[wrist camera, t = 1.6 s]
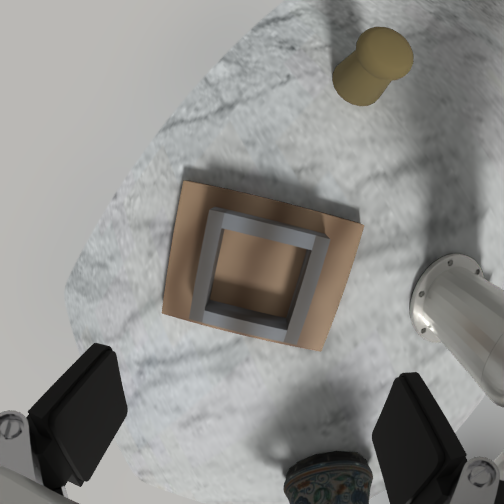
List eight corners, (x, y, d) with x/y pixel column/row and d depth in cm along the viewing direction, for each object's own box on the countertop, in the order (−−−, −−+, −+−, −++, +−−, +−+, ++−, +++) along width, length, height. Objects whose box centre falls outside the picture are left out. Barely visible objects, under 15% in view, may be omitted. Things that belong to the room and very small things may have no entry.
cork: (321, 74, 29) (341, 32, 18) (359, 51, 27) (390, 8, 17) (355, 115, 29) (391, 90, 19) (391, 91, 28) (435, 62, 18)
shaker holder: (360, 223, 32) (373, 230, 28) (319, 345, 36) (324, 365, 32) (187, 180, 32) (174, 180, 28) (165, 308, 36) (153, 324, 32)
